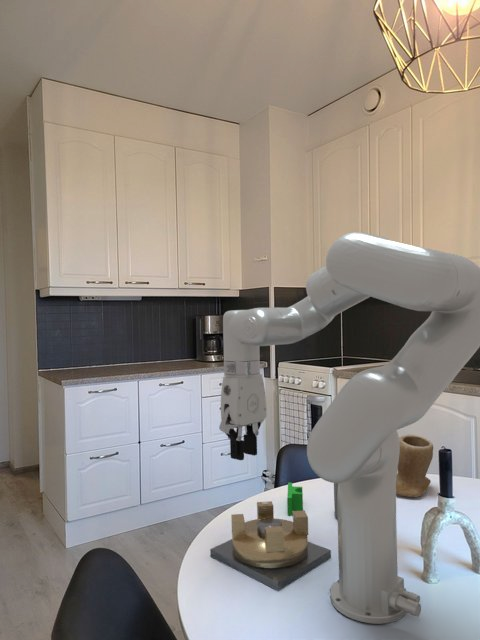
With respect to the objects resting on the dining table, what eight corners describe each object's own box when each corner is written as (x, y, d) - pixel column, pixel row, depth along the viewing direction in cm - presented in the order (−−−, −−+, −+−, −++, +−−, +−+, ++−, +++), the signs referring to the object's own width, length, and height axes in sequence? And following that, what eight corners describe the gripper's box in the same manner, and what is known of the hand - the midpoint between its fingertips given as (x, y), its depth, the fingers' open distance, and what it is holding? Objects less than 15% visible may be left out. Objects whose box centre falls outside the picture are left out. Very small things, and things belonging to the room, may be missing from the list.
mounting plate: (330, 557, 94) (330, 549, 94) (278, 591, 83) (277, 581, 83) (264, 530, 107) (263, 523, 107) (210, 556, 96) (210, 548, 96)
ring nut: (299, 530, 103) (298, 498, 103) (315, 565, 88) (314, 528, 88) (230, 534, 102) (229, 502, 102) (235, 570, 87) (234, 533, 87)
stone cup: (428, 504, 120) (426, 445, 120) (381, 495, 127) (380, 439, 127) (441, 486, 133) (440, 433, 133) (398, 479, 140) (397, 428, 140)
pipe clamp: (303, 517, 115) (302, 498, 115) (287, 516, 115) (287, 497, 115) (302, 499, 126) (302, 482, 126) (288, 499, 126) (287, 482, 126)
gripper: (229, 373, 91) (231, 469, 90) (279, 366, 103) (281, 450, 103) (201, 371, 95) (203, 463, 95) (252, 365, 108) (254, 445, 108)
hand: (243, 455), depth 99 cm, fingers open, 3 cm apart
